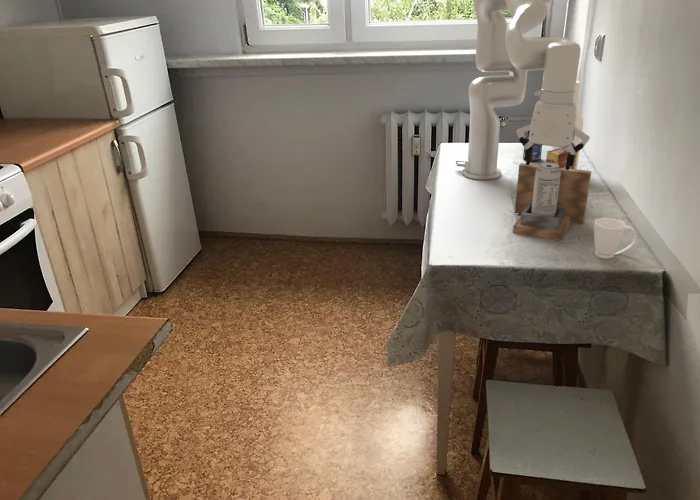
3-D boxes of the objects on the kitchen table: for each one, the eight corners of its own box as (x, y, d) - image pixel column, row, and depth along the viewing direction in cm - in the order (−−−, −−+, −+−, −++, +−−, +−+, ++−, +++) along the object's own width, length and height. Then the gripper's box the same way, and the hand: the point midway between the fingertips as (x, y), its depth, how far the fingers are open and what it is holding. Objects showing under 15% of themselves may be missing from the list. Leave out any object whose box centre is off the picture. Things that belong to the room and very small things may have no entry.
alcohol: (546, 171, 195) (556, 79, 182) (573, 171, 193) (586, 79, 180) (548, 179, 187) (560, 84, 174) (577, 180, 185) (591, 84, 172)
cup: (584, 248, 140) (589, 217, 137) (627, 247, 140) (633, 216, 136) (593, 261, 134) (599, 229, 131) (638, 261, 133) (645, 228, 130)
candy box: (551, 206, 166) (558, 154, 159) (539, 201, 169) (545, 150, 163) (571, 199, 170) (578, 148, 164) (559, 195, 173) (566, 145, 167)
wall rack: (501, 230, 151) (505, 179, 145) (516, 211, 163) (521, 163, 157) (573, 242, 143) (581, 189, 137) (583, 221, 155) (591, 171, 149)
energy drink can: (554, 217, 153) (561, 162, 147) (555, 225, 148) (562, 169, 142) (530, 215, 155) (536, 161, 148) (530, 224, 149) (536, 167, 143)
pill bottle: (542, 162, 204) (546, 130, 199) (525, 162, 204) (528, 131, 199) (537, 157, 209) (541, 126, 205) (520, 157, 209) (523, 127, 205)
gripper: (516, 97, 139) (509, 165, 146) (593, 103, 131) (581, 175, 139) (524, 91, 144) (517, 157, 152) (598, 96, 137) (587, 166, 144)
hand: (548, 165), depth 145 cm, fingers open, 9 cm apart
